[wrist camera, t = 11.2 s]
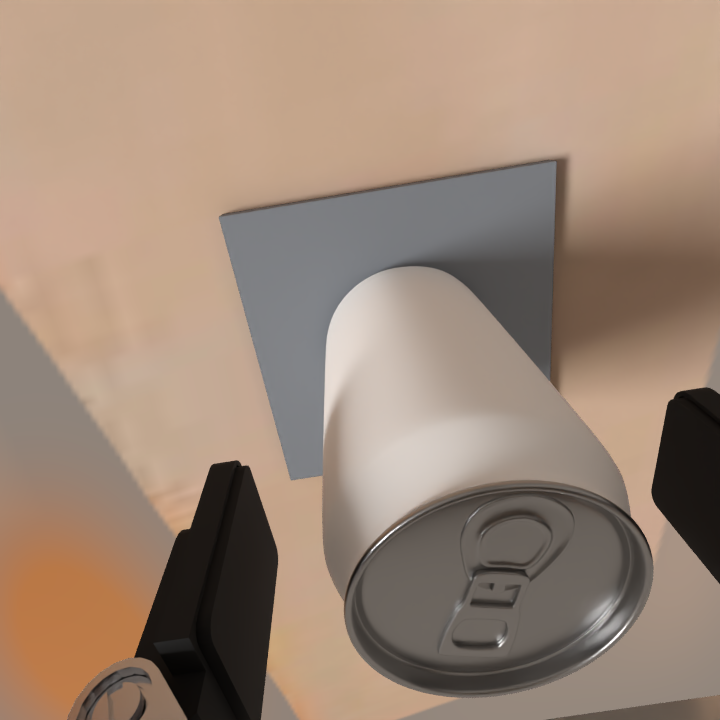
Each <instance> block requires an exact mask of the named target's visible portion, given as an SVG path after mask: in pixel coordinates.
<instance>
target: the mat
mask: <svg viewBox="0 0 720 720" xmlns="http://www.w3.org/2000/svg"><path fill="white" fill-rule="evenodd" d="M555 196H556V161H553V160H547V161H541V162H535V163H529V164H523V165H517V166H510V167H504V168H498V169H492V170H486V171H480V172H474V173H468V174H462V175H456V176H450V177H444V178H438V179H432V180H426V181H420V182H414V183H408V184H402V185H396V186H390V187H384V188H378V189H372V190H366V191H360V192H354V193H348V194H342V195H336V196H330V197H324V198H318V199H312V200H306V201H300V202H294V203H288V204H282V205H276V206H269V207H263V208H257V209H251V210H245V211H239V212H233V213H227V214H222V215H221V216H220V217H219V220H220V224H221V227H222V231H223V235H224V238H225V242H226V246H227V249H228V253H229V256H230V260H231V264H232V267H233V271H234V275H235V278H236V282H237V286H238V289H239V293H240V297H241V300H242V304H243V307H244V311H245V315H246V318H247V322H248V326H249V329H250V333H251V337H252V340H253V344H254V348H255V351H256V355H257V359H258V362H259V366H260V369H261V373H262V377H263V380H264V384H265V388H266V391H267V395H268V399H269V402H270V406H271V410H272V413H273V417H274V420H275V424H276V428H277V431H278V435H279V439H280V442H281V446H282V450H283V453H284V457H285V461H286V464H287V468H288V472H289V475H290V479H291V480H296V479H303V478H309V477H316V476H322V475H323V435H324V392H325V358H326V341H327V333H328V329H329V325H330V322H331V319H332V317H333V314H334V312H335V310H336V309H337V307H338V305H339V304H340V302H341V301H342V300H343V298H344V297H345V296H346V295H347V294H348V293H349V292H350V291H351V290H352V289H353V288H354V287H355V286H356V285H358V284H359V283H360V282H362V281H363V280H365V279H367V278H368V277H370V276H372V275H374V274H376V273H379V272H381V271H384V270H388V269H392V268H398V267H408V266H421V267H430V268H435V269H438V270H442V271H444V272H446V273H448V274H450V275H452V276H453V277H455V278H456V279H458V280H459V281H460V282H462V283H463V284H464V285H465V286H466V287H468V288H469V289H470V290H471V291H472V292H473V294H474V295H475V296H476V297H477V298H478V299H479V300H480V301H481V302H482V303H483V305H484V306H485V307H486V308H487V309H488V310H489V311H490V313H491V314H492V315H493V316H494V317H495V318H496V319H497V321H498V322H499V323H500V324H501V325H502V326H503V328H504V329H505V330H506V331H507V332H508V333H509V335H510V336H511V337H512V338H513V339H514V340H515V341H516V343H517V344H518V345H519V346H520V347H521V348H522V350H523V351H524V352H525V353H526V354H527V355H528V357H529V358H530V359H531V360H532V361H533V362H534V364H535V365H536V366H537V367H538V368H539V369H540V371H541V372H542V373H543V374H544V375H545V376H546V378H547V379H548V380H549V381H550V368H551V334H552V299H553V265H554V230H555Z"/></svg>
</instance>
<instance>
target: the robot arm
mask: <svg viewBox="0 0 720 720" xmlns="http://www.w3.org/2000/svg"><path fill="white" fill-rule="evenodd" d="M652 498H653V501H654V503H655V505H656V506H657V508H658V509H659V510H660V511H661V512H662V514H663V515H664V516H665V517H666V519H667V520H668V521H669V522H670V523H671V525H672V526H673V527H674V528H675V530H676V531H677V532H678V533H679V534H680V536H681V537H682V538H683V539H684V541H685V542H686V543H687V544H688V546H689V547H690V548H691V549H692V550H693V552H694V553H695V554H696V555H697V556H698V558H699V559H700V560H701V561H702V563H703V564H704V565H705V566H706V568H707V569H708V570H709V571H710V573H711V574H712V575H713V576H714V577H715V579H716V580H717V581H718V582H719V584H720V394H718V393H717V392H716V391H714V390H712V389H711V388H699V389H692V390H686V391H680V392H678V393H677V394H676V395H675V397H674V399H672V400H670V401H669V402H668V405H667V410H666V415H665V421H664V426H663V431H662V437H661V442H660V447H659V453H658V458H657V463H656V468H655V474H654V479H653V484H652ZM277 568H278V553H277V548H276V544H275V541H274V538H273V535H272V532H271V529H270V526H269V523H268V520H267V517H266V514H265V511H264V508H263V505H262V502H261V500H260V497H259V494H258V491H257V488H256V485H255V482H254V479H253V476H252V473H251V470H250V467H249V466H241V463H240V462H239V461H237V460H236V461H230V462H224V463H217V464H213V465H211V467H210V470H209V473H208V476H207V479H206V482H205V485H204V488H203V491H202V494H201V498H200V501H199V504H198V507H197V510H196V513H195V516H194V519H193V522H192V525H191V528H190V529H186V530H182V531H181V532H180V533H179V534H178V536H177V538H176V540H175V543H174V546H173V548H172V551H171V554H170V557H169V560H168V563H167V566H166V569H165V572H164V574H163V577H162V580H161V583H160V585H159V588H158V591H157V594H156V597H155V600H154V603H153V605H152V609H151V611H150V614H149V617H148V620H147V623H146V625H145V629H144V631H143V634H142V637H141V640H140V642H139V645H138V648H137V651H136V654H135V657H134V658H128V659H125V660H122V661H120V662H117V663H114V664H113V665H111V666H110V667H108V668H106V669H105V670H103V671H102V672H100V673H99V674H98V675H97V676H96V677H95V678H94V679H93V680H92V681H91V682H90V683H88V684H87V686H86V687H85V688H84V689H83V691H82V692H81V693H80V695H79V696H78V697H77V699H76V700H75V703H74V704H73V707H72V709H71V711H70V713H69V715H68V719H67V720H261V713H262V703H263V695H264V686H265V677H266V667H267V658H268V649H269V640H270V631H271V622H272V613H273V604H274V595H275V586H276V577H277ZM548 720H720V695H717V696H710V697H702V698H695V699H688V700H681V701H674V702H666V703H659V704H653V705H645V706H638V707H632V708H625V709H618V710H610V711H604V712H597V713H589V714H583V715H576V716H569V717H562V718H555V719H548Z"/></svg>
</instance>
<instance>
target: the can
mask: <svg viewBox="0 0 720 720" xmlns="http://www.w3.org/2000/svg"><path fill="white" fill-rule="evenodd" d="M322 525H323V546H324V554H325V560H326V564H327V568H328V571H329V573H330V576H331V578H332V581H333V583H334V585H335V587H336V589H337V591H338V592H339V594H340V596H341V597H342V599H343V601H344V619H345V625H346V629H347V632H348V635H349V638H350V640H351V642H352V644H353V646H354V647H355V649H356V650H357V652H358V653H359V655H360V656H361V657H362V658H363V659H364V660H365V661H366V662H367V663H368V664H369V665H370V666H371V667H372V668H373V669H374V670H376V671H377V672H378V673H380V674H381V675H383V676H384V677H386V678H388V679H390V680H391V681H393V682H395V683H397V684H400V685H402V686H405V687H407V688H410V689H413V690H416V691H420V692H424V693H428V694H433V695H439V696H446V697H459V698H479V697H491V696H500V695H506V694H512V693H517V692H522V691H526V690H530V689H533V688H536V687H540V686H543V685H545V684H549V683H551V682H554V681H556V680H558V679H561V678H563V677H565V676H568V675H570V674H572V673H574V672H576V671H578V670H579V669H581V668H583V667H585V666H586V665H588V664H590V663H591V662H593V661H594V660H596V659H597V658H599V657H600V656H601V655H603V654H604V653H605V652H607V651H608V650H609V649H610V648H611V647H613V646H614V645H615V644H616V643H617V642H618V641H619V640H620V639H621V638H622V637H623V636H624V635H625V634H626V633H627V632H628V630H629V629H630V628H631V627H632V626H633V624H634V623H635V621H636V620H637V619H638V617H639V615H640V614H641V612H642V610H643V608H644V606H645V604H646V602H647V599H648V597H649V594H650V590H651V586H652V581H653V559H652V554H651V550H650V547H649V544H648V542H647V539H646V537H645V535H644V534H643V532H642V530H641V529H640V527H639V526H638V525H637V524H636V522H635V521H634V520H633V519H632V518H631V514H630V506H629V500H628V495H627V491H626V487H625V484H624V481H623V478H622V476H621V473H620V471H619V469H618V468H617V466H616V464H615V463H614V461H613V459H612V458H611V456H610V455H609V453H608V452H607V450H606V449H605V448H604V446H603V445H602V444H601V442H600V441H599V440H598V439H597V437H596V436H595V435H594V434H593V432H592V431H591V430H590V429H589V427H588V426H587V425H586V424H585V423H584V421H583V420H582V419H581V418H580V417H579V415H578V414H577V413H576V412H575V411H574V409H573V408H572V407H571V406H570V405H569V403H568V402H567V401H566V400H565V399H564V398H563V396H562V395H561V394H560V393H559V392H558V391H557V389H556V388H555V387H554V386H553V385H552V383H551V382H550V381H549V380H548V379H547V378H546V376H545V375H544V374H543V373H542V372H541V371H540V369H539V368H538V367H537V366H536V365H535V364H534V362H533V361H532V360H531V359H530V358H529V357H528V355H527V354H526V353H525V352H524V351H523V350H522V348H521V347H520V346H519V345H518V344H517V343H516V341H515V340H514V339H513V338H512V337H511V336H510V335H509V333H508V332H507V331H506V330H505V329H504V328H503V326H502V325H501V324H500V323H499V322H498V321H497V319H496V318H495V317H494V316H493V315H492V314H491V313H490V311H489V310H488V309H487V308H486V307H485V306H484V305H483V303H482V302H481V301H480V300H479V299H478V298H477V297H476V296H475V295H474V294H473V292H472V291H471V290H470V289H469V288H468V287H466V286H465V285H464V284H463V283H462V282H460V281H459V280H458V279H456V278H455V277H453V276H452V275H450V274H448V273H446V272H444V271H442V270H438V269H435V268H430V267H421V266H408V267H398V268H392V269H388V270H384V271H381V272H379V273H376V274H374V275H372V276H370V277H368V278H367V279H365V280H363V281H362V282H360V283H359V284H358V285H356V286H355V287H354V288H353V289H352V290H351V291H350V292H349V293H348V294H347V295H346V296H345V297H344V298H343V300H342V301H341V302H340V304H339V305H338V307H337V309H336V310H335V312H334V314H333V317H332V319H331V322H330V325H329V329H328V333H327V341H326V358H325V392H324V435H323V494H322Z"/></svg>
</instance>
